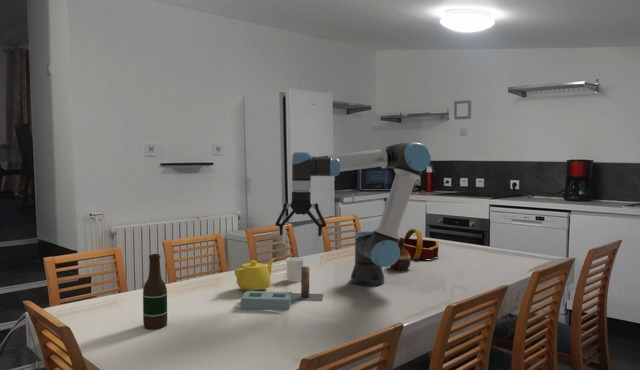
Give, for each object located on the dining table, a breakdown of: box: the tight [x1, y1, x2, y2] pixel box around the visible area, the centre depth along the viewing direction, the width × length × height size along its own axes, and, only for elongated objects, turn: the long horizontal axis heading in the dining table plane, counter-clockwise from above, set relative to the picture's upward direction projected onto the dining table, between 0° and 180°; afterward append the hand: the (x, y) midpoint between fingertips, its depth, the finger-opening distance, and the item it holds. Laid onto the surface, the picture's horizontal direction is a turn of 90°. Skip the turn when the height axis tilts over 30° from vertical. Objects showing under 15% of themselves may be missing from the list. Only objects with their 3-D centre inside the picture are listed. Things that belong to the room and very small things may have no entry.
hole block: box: [240, 290, 293, 311], centre depth 192 cm, size 18×10×4 cm, turn 87°
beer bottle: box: [142, 253, 168, 331], centre depth 168 cm, size 8×8×24 cm
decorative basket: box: [403, 228, 440, 260], centre depth 289 cm, size 34×29×15 cm
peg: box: [300, 265, 311, 298], centre depth 202 cm, size 3×3×12 cm
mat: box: [292, 292, 324, 302], centre depth 202 cm, size 14×10×1 cm
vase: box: [389, 237, 412, 271], centre depth 254 cm, size 11×11×15 cm
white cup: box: [285, 256, 305, 283], centre depth 228 cm, size 8×8×10 cm
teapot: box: [234, 258, 276, 292], centre depth 213 cm, size 13×20×12 cm
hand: (300, 243), depth 204 cm, fingers open, 13 cm apart
